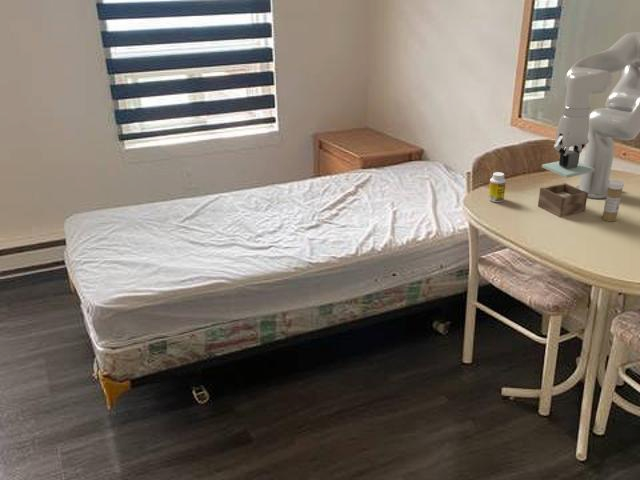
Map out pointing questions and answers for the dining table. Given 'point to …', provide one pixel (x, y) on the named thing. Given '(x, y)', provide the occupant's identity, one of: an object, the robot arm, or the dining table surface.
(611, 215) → the sprinkles bottle
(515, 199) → the dining table surface
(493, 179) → the supplement bottle
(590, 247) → the dining table surface
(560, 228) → the dining table surface
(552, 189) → the storage box
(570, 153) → the lid
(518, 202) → the dining table surface
